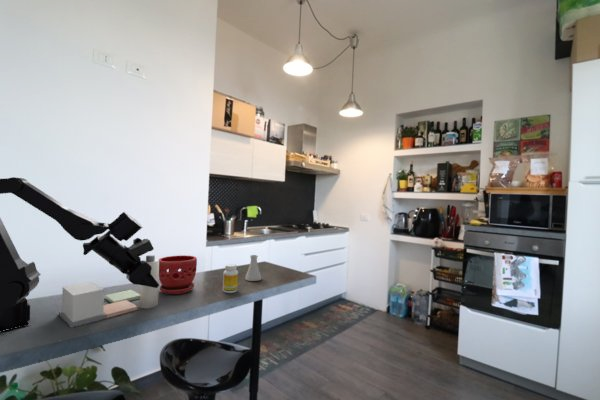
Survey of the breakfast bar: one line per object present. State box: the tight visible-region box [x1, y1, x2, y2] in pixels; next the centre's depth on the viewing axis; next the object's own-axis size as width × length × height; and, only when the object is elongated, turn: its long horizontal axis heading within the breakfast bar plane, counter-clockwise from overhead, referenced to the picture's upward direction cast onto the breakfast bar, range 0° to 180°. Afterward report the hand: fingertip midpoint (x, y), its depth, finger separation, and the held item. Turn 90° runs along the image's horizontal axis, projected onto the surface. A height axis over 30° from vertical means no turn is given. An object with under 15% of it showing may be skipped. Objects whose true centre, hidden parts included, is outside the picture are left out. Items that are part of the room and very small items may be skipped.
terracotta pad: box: [104, 300, 138, 319], centre depth 87 cm, size 8×8×1 cm
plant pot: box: [158, 255, 198, 295], centre depth 106 cm, size 13×13×12 cm
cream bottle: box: [139, 254, 160, 309], centre depth 91 cm, size 5×5×16 cm
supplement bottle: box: [222, 263, 239, 294], centre depth 107 cm, size 5×5×10 cm
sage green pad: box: [104, 289, 140, 304], centre depth 96 cm, size 8×8×1 cm
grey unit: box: [58, 281, 108, 328], centre depth 82 cm, size 8×12×8 cm, turn 52°
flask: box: [244, 254, 262, 282], centre depth 123 cm, size 7×7×10 cm
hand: (153, 282), depth 92 cm, fingers open, 9 cm apart
